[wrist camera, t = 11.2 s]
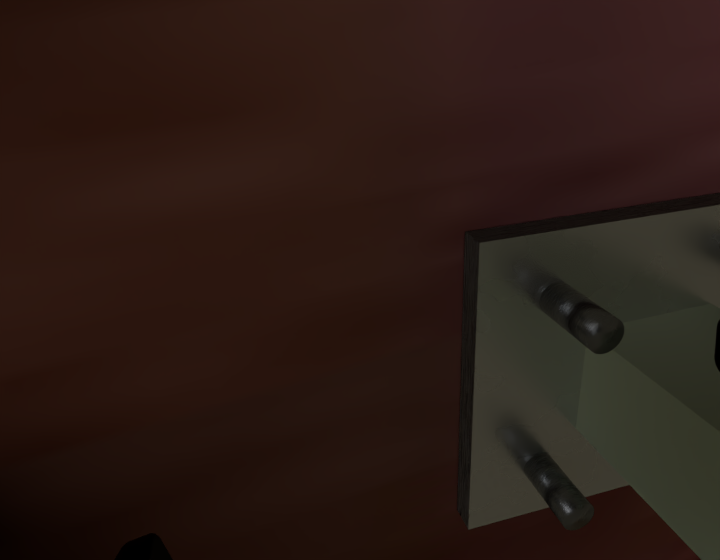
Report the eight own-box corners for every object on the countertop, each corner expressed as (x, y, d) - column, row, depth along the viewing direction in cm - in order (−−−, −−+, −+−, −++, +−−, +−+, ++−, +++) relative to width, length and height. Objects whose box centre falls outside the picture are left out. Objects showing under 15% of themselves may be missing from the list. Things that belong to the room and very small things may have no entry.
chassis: (457, 509, 27) (500, 587, 23) (464, 231, 21) (524, 276, 17) (733, 435, 30) (808, 492, 27) (807, 179, 25) (917, 207, 21)
